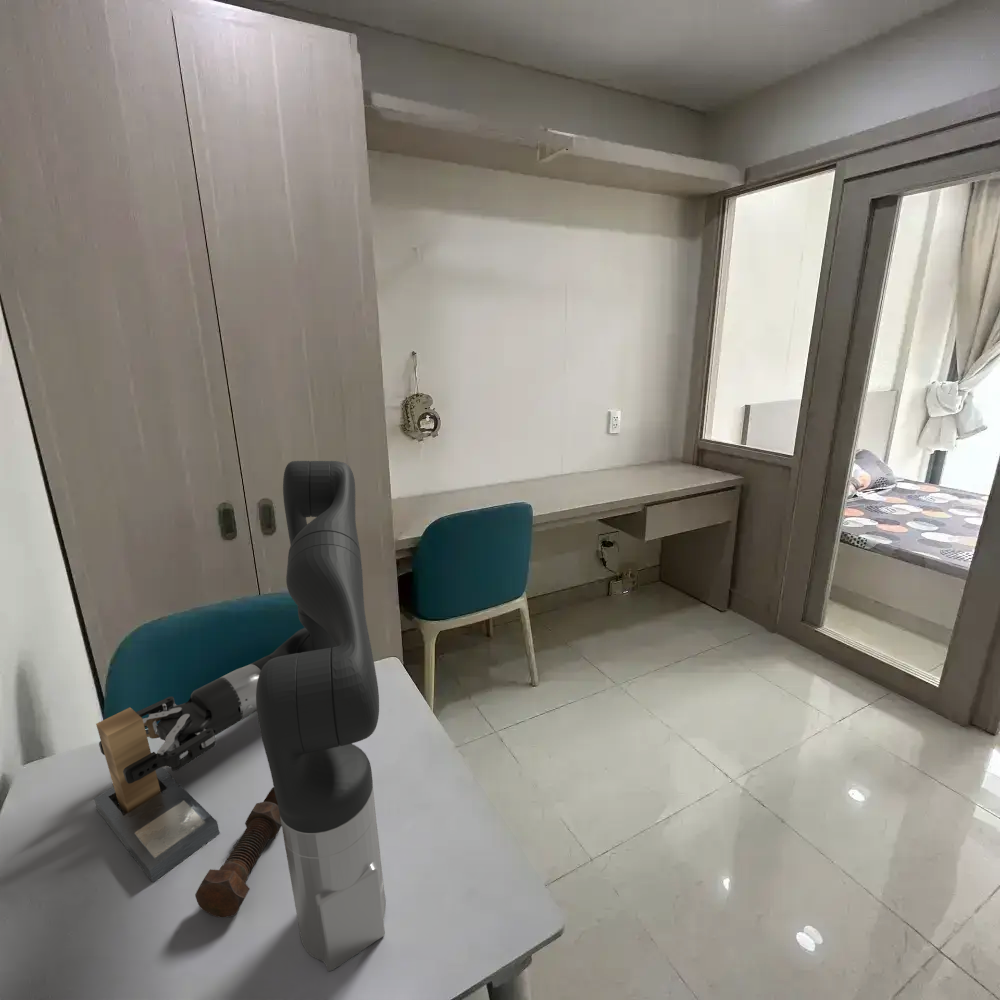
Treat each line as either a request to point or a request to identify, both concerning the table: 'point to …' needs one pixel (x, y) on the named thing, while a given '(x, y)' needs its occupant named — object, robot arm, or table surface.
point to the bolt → (240, 862)
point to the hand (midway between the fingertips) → (112, 762)
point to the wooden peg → (127, 757)
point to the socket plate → (160, 826)
